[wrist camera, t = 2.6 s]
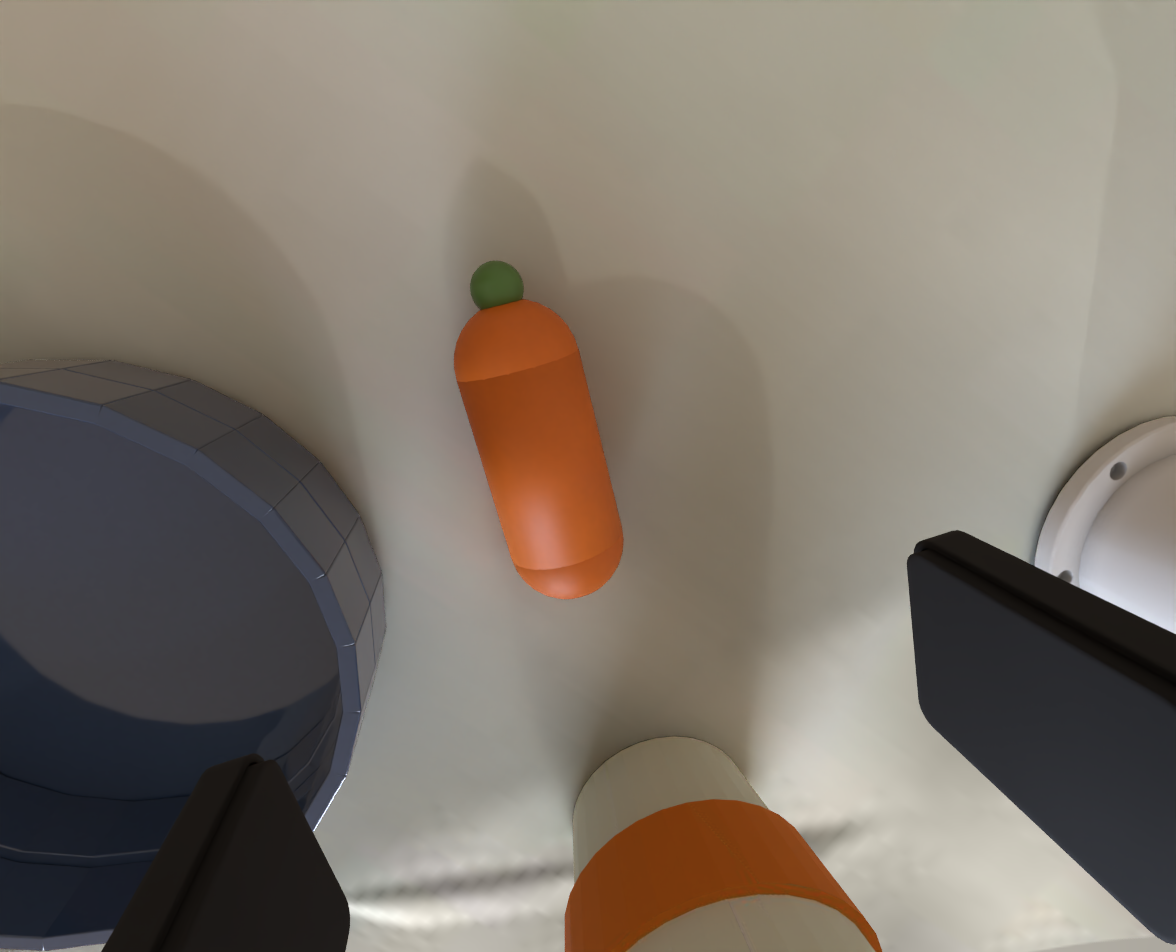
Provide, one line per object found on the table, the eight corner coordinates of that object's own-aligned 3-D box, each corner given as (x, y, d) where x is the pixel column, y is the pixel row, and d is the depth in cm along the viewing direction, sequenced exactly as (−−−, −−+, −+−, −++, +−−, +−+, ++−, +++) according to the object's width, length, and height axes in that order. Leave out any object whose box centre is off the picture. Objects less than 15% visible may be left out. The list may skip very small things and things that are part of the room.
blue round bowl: (174, 254, 21) (60, 238, 15) (474, 663, 27) (472, 760, 21) (-314, 536, 21) (-608, 624, 15) (95, 882, 27) (-8, 1037, 21)
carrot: (621, 553, 27) (646, 600, 23) (523, 582, 26) (530, 635, 22) (546, 250, 23) (560, 239, 19) (430, 279, 23) (418, 275, 18)
